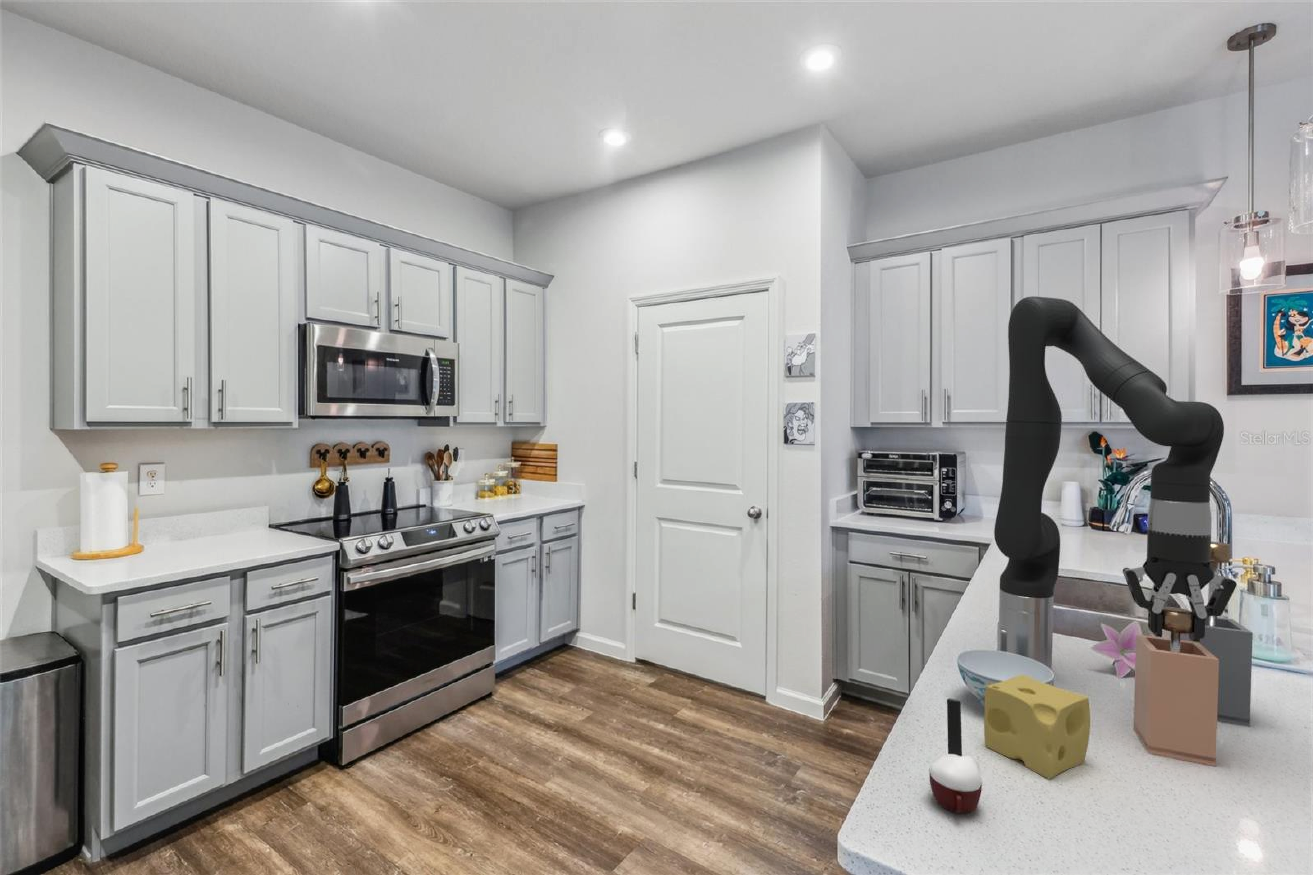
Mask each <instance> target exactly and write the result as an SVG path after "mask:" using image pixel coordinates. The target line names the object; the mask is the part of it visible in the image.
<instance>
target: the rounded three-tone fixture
mask: <svg viewBox="0 0 1313 875" xmlns="http://www.w3.org/2000/svg"><path fill="white" fill-rule="evenodd" d="M961 704H962V702H961V701H960V699H957V698H950V697H949V698H947V700H946V708H947V709H946V714H947V716H946V717H947V721H946V722H947V753H946V754H944V755H942V756H941V757H938V759H936V760H935V761H934V762H933V763H932V764H931V765H930V766H929V768H928V771H929V784H930V789H931V791H932V795H933V797H934V799H935V800H936V801H937V803H939V805H941V806H942V807H943V808H945V809H946V810H948V811H950V812H952V813H957V814H966V813H967V814H968V813H970V812H972V811H974V810H975V809H976V808H977V807H978V805H979V802H980V800H981V794H982V789H983V788H982V786H983V782H982V777H981V770H980V763H979V762H978V761H977V759H976V758H975V757H974V756H971V755H963V744H962V740H963V738H962V708H961V706H962V705H961Z"/></svg>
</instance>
